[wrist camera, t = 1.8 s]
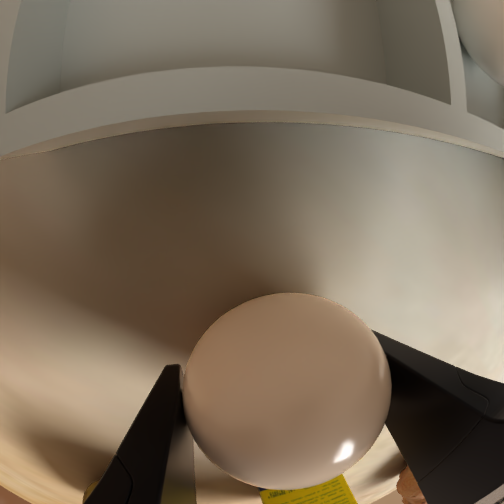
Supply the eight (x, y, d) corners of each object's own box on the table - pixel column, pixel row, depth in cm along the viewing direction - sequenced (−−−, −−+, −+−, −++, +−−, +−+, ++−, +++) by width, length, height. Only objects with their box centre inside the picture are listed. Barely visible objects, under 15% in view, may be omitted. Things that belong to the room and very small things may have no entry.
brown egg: (343, 248, 9) (472, 355, 4) (325, 369, 11) (387, 472, 6) (165, 270, 8) (155, 454, 3) (194, 394, 10) (214, 523, 5)
